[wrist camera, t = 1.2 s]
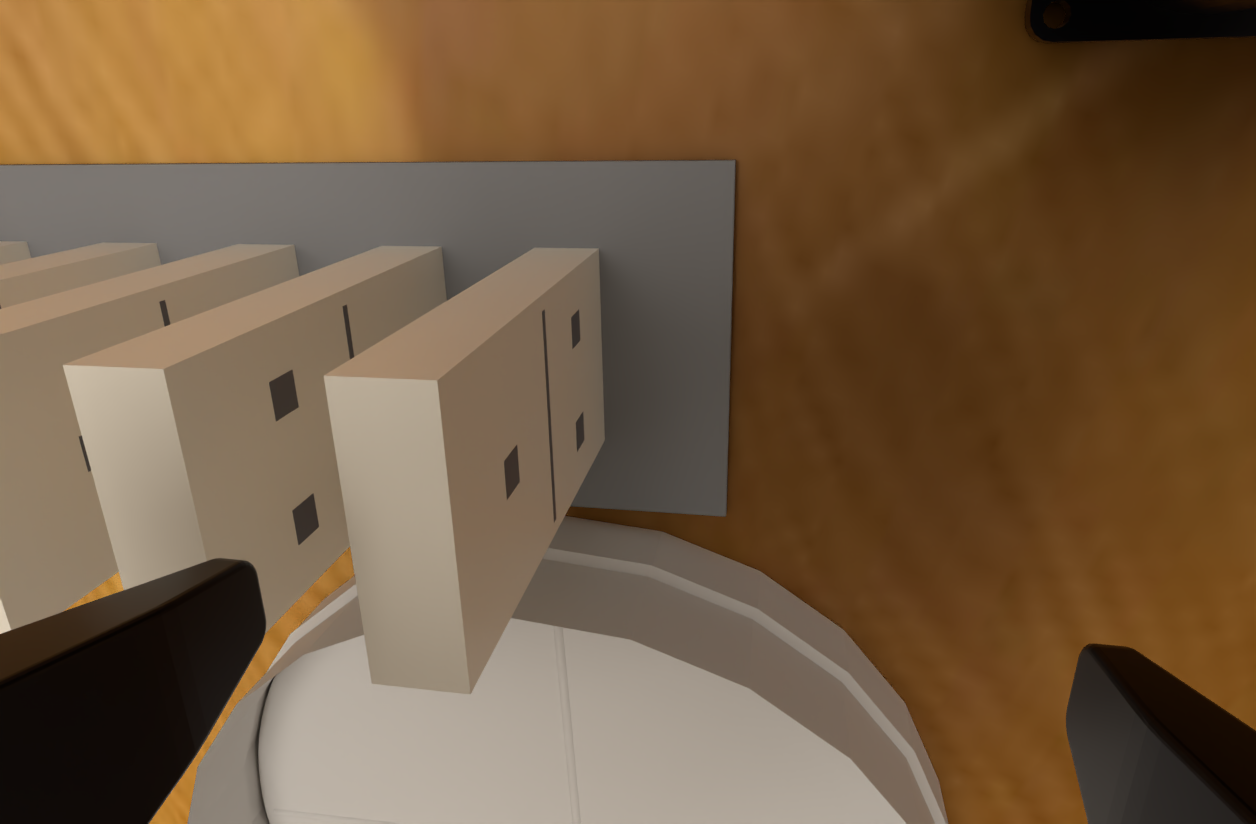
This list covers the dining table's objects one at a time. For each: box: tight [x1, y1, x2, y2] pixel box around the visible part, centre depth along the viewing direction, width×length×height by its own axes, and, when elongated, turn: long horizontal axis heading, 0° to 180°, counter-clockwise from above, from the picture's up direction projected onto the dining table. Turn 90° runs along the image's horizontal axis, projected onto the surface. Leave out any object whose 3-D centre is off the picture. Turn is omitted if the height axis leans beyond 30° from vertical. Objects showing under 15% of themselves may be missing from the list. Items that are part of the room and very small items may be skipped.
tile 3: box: [0, 244, 299, 634], centre depth 18 cm, size 2×5×10 cm, turn 0°
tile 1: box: [324, 248, 605, 695], centre depth 16 cm, size 2×5×10 cm, turn 0°
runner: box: [0, 160, 736, 517], centre depth 22 cm, size 21×9×1 cm, turn 90°
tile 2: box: [63, 246, 447, 633], centre depth 17 cm, size 2×5×10 cm, turn 0°
